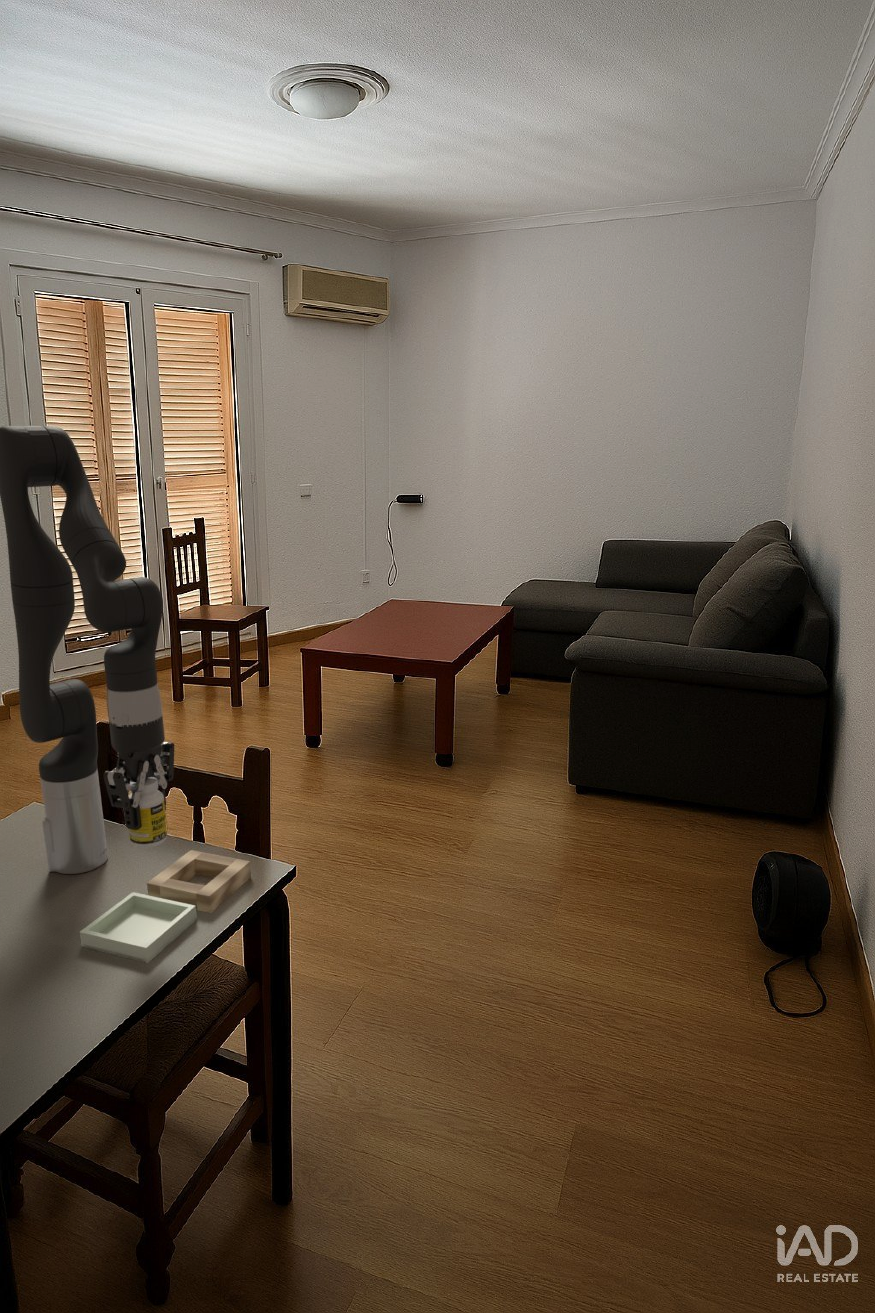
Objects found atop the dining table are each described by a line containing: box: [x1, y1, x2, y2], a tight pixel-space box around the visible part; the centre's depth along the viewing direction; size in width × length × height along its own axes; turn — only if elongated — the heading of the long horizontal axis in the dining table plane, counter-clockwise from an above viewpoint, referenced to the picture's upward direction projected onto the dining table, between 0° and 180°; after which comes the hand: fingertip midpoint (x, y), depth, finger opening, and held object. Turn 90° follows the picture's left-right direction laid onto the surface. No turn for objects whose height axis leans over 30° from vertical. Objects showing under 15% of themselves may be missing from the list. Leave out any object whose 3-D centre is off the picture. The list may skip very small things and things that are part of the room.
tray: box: [79, 891, 198, 964], centre depth 134 cm, size 12×12×2 cm
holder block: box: [146, 849, 252, 914], centre depth 147 cm, size 12×12×3 cm
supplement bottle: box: [128, 777, 168, 848], centre depth 133 cm, size 5×5×10 cm
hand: (146, 819), depth 133 cm, fingers closed on supplement bottle, 5 cm apart
